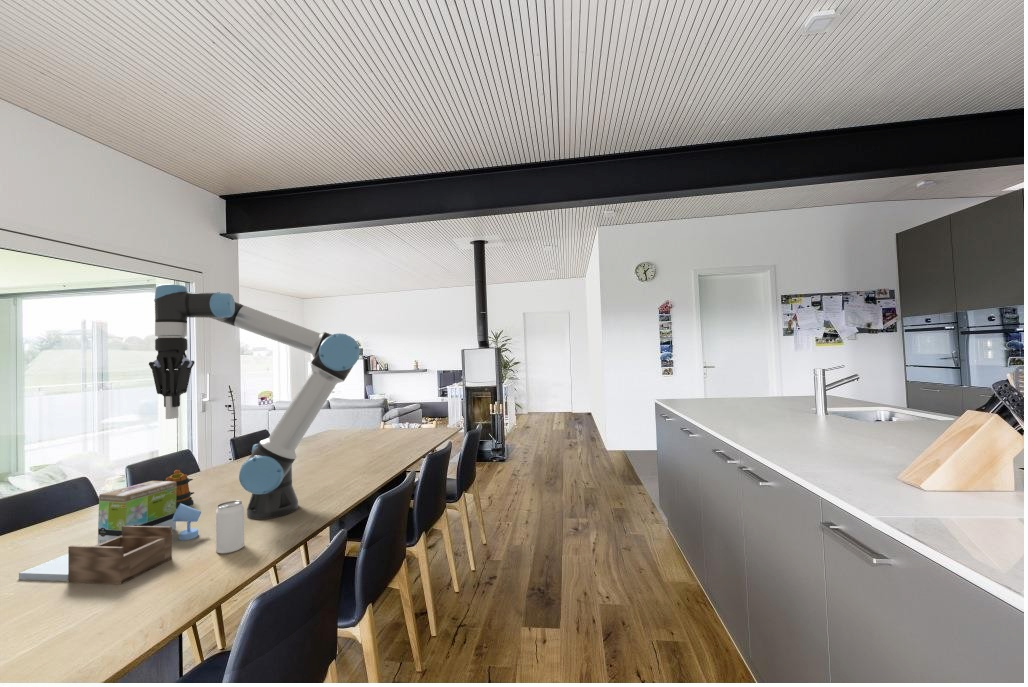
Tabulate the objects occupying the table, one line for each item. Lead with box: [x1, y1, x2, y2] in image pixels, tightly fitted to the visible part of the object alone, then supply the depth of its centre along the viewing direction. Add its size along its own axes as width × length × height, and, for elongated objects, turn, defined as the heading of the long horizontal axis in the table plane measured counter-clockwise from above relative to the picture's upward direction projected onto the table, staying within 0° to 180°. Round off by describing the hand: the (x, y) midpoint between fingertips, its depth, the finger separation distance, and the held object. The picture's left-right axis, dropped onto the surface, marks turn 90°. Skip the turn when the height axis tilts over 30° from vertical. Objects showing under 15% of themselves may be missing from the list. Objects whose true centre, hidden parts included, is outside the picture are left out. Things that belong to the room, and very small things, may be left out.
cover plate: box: [18, 553, 68, 582], centre depth 111 cm, size 13×11×2 cm
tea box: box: [97, 480, 177, 545], centre depth 130 cm, size 15×10×15 cm, turn 168°
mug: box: [165, 469, 195, 510], centre depth 160 cm, size 13×10×12 cm
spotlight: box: [172, 503, 202, 541], centre depth 129 cm, size 5×10×7 cm
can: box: [215, 500, 245, 555], centre depth 120 cm, size 6×6×12 cm
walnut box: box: [67, 526, 173, 585], centre depth 110 cm, size 14×13×8 cm
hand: (172, 418), depth 130 cm, fingers closed
